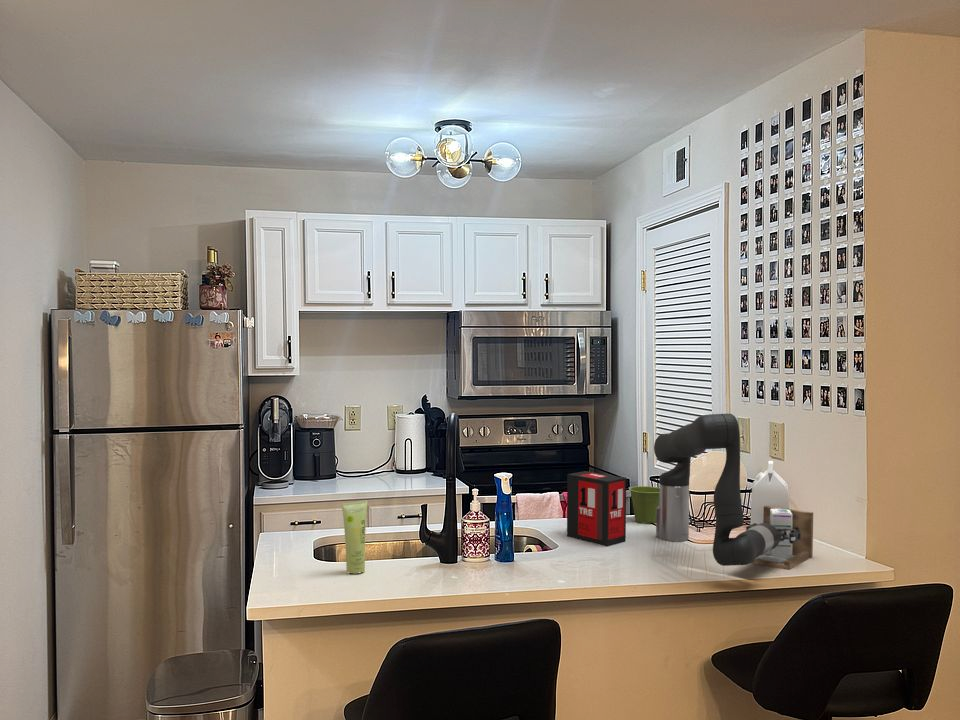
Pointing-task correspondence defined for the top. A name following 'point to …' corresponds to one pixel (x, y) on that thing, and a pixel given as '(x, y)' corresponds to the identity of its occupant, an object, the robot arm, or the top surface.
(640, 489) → the plant pot
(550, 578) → the top surface
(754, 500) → the milk
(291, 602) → the top surface
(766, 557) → the grey offcut
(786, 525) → the syrup box
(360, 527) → the tube
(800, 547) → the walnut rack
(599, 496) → the cleaning product box
